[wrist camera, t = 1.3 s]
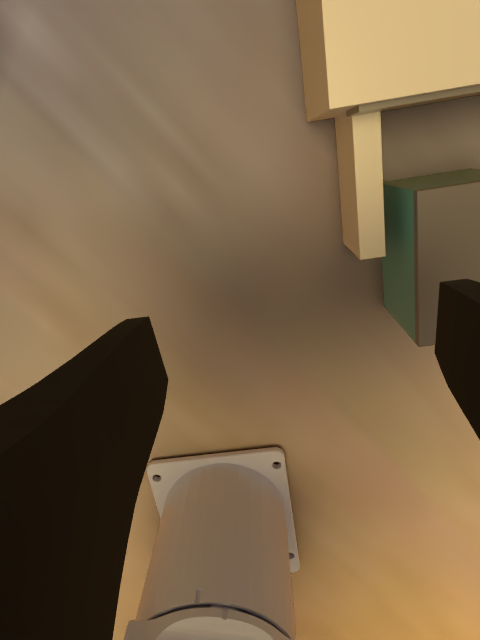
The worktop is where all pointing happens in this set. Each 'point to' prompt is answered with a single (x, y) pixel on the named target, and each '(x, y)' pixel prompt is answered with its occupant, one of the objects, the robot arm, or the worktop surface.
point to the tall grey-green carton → (428, 245)
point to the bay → (380, 85)
